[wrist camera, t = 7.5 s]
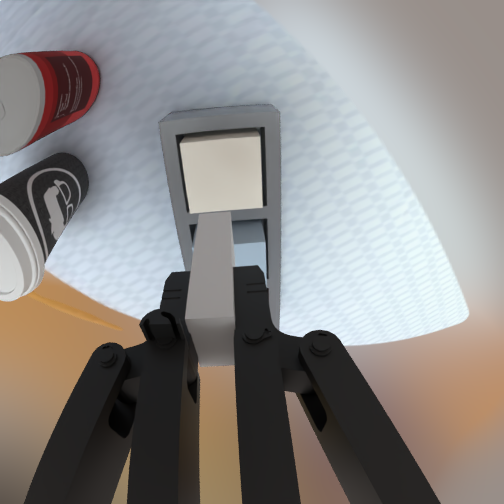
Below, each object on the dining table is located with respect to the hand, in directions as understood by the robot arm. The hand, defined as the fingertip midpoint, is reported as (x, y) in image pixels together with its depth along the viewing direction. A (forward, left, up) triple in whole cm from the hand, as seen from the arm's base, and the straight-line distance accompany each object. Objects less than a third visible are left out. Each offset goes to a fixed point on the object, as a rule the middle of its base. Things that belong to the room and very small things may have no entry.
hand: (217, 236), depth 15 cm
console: (+9, 0, -16) cm, 18 cm away
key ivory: (0, 0, -13) cm, 13 cm away
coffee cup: (+1, -18, -16) cm, 24 cm away
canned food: (-9, -15, -16) cm, 24 cm away
